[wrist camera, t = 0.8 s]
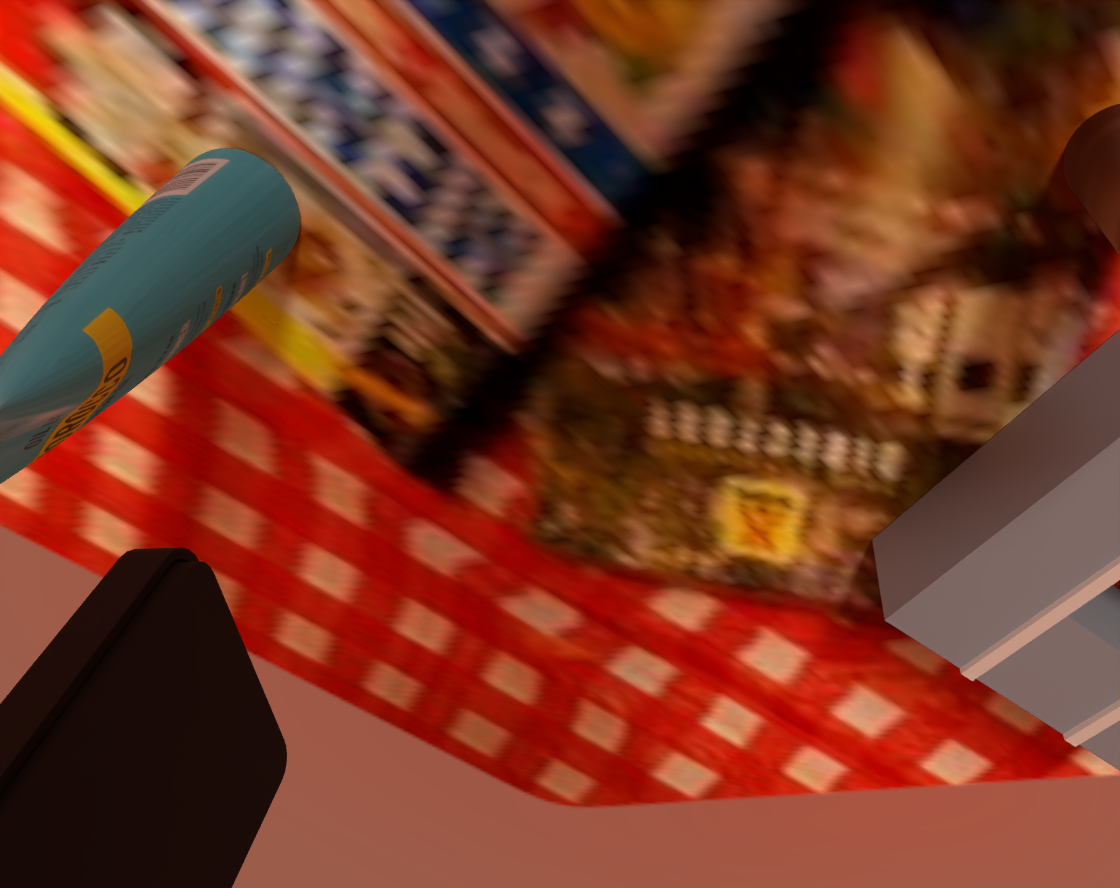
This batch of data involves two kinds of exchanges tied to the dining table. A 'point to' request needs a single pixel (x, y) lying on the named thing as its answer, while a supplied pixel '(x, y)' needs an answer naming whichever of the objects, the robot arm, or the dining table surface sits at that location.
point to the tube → (143, 298)
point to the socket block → (1026, 560)
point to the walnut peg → (1097, 170)
